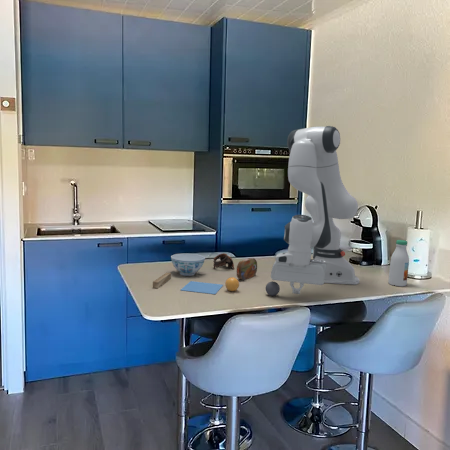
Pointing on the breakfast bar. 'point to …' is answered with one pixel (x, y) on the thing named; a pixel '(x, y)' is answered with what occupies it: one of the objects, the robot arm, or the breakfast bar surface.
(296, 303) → the breakfast bar surface
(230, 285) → the orange ball
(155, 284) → the wood strip
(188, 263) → the chinaware
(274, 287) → the grey ball
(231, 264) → the brown hollow arched shell
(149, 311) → the breakfast bar surface
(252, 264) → the tin
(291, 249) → the robot arm
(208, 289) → the blue mark
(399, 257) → the milk bottle
